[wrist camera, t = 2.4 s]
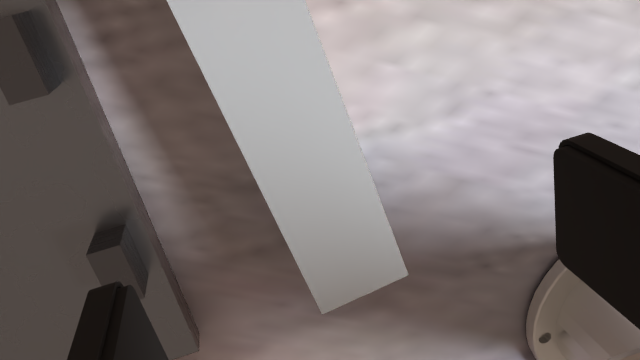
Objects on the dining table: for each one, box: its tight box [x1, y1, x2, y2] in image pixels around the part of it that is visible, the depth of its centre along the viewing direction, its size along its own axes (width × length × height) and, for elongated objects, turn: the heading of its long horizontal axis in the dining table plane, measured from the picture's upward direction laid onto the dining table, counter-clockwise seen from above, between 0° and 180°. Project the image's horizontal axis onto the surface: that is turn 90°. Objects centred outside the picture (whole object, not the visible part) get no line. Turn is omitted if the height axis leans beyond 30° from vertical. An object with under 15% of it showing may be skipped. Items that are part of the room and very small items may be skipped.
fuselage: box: [167, 0, 408, 315], centre depth 22 cm, size 4×19×8 cm, turn 21°
